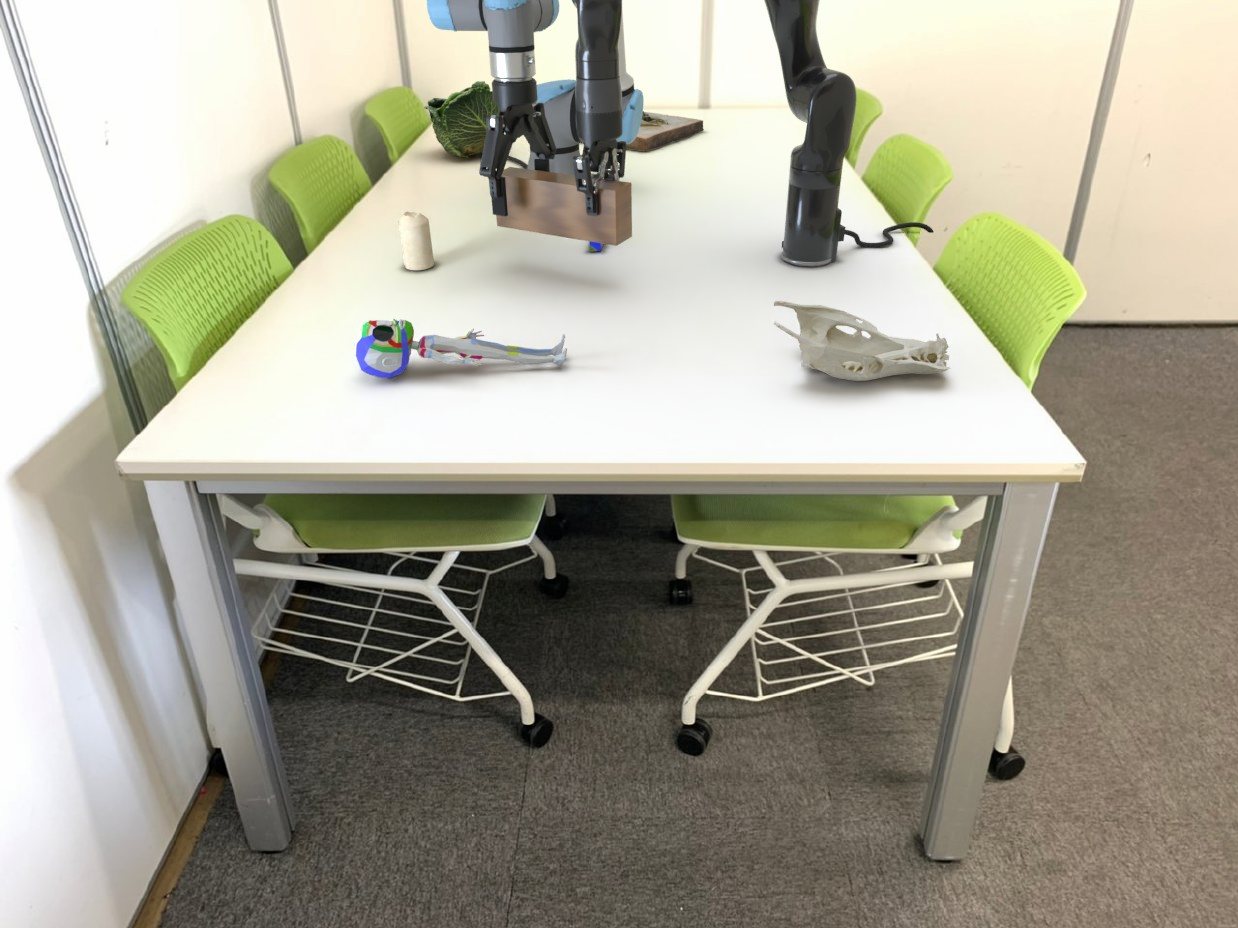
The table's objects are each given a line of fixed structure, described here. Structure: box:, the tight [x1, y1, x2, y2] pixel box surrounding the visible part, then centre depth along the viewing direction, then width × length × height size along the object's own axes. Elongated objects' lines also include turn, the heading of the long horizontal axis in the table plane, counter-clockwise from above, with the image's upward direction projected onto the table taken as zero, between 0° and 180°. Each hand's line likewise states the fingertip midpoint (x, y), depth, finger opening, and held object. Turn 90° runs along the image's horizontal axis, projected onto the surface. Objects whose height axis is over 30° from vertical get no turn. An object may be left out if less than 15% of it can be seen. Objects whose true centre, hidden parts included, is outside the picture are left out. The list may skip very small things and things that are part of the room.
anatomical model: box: [773, 300, 952, 382], centre depth 127 cm, size 15×9×25 cm
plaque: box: [626, 110, 705, 152], centre depth 257 cm, size 30×7×30 cm
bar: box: [495, 166, 633, 247], centre depth 157 cm, size 25×6×9 cm, turn 61°
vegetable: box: [424, 80, 499, 159], centre depth 237 cm, size 20×19×20 cm
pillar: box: [588, 241, 605, 252], centre depth 182 cm, size 2×2×20 cm
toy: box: [353, 318, 568, 379], centre depth 130 cm, size 10×8×30 cm
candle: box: [397, 211, 435, 271], centre depth 166 cm, size 6×6×10 cm
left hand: (522, 205), depth 161 cm, fingers open, 13 cm apart
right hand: (602, 210), depth 154 cm, fingers closed on bar, 5 cm apart
